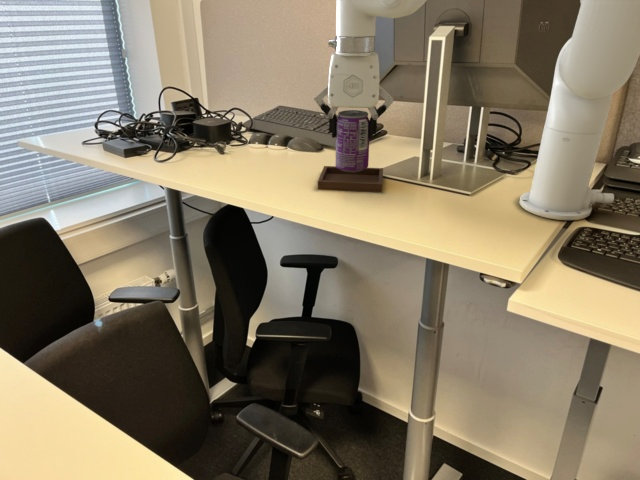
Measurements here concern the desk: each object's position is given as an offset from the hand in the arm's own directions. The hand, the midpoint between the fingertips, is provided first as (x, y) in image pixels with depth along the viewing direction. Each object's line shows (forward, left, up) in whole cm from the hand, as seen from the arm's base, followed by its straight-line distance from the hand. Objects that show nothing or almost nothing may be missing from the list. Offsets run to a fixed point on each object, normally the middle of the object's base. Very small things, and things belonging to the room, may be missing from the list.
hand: (352, 136), depth 99 cm
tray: (0, 0, -10) cm, 10 cm away
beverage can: (0, 0, -7) cm, 7 cm away
